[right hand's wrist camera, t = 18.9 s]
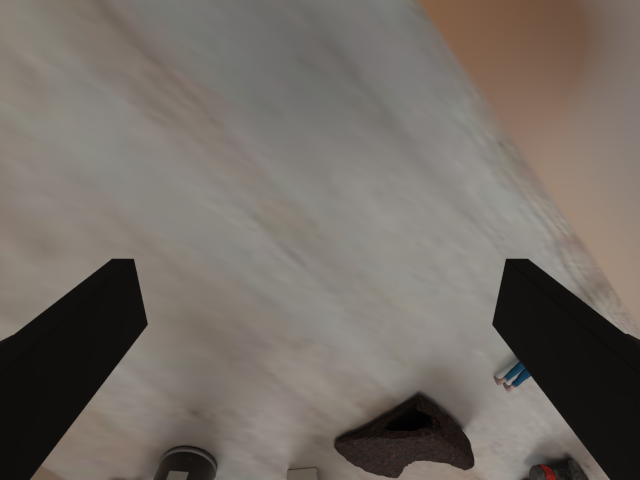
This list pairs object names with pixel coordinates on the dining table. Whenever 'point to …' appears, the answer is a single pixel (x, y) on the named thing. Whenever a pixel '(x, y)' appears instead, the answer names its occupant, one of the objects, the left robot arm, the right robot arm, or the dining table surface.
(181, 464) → the left robot arm
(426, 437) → the axe head
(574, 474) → the valve
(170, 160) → the dining table surface
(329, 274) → the dining table surface
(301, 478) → the bar
